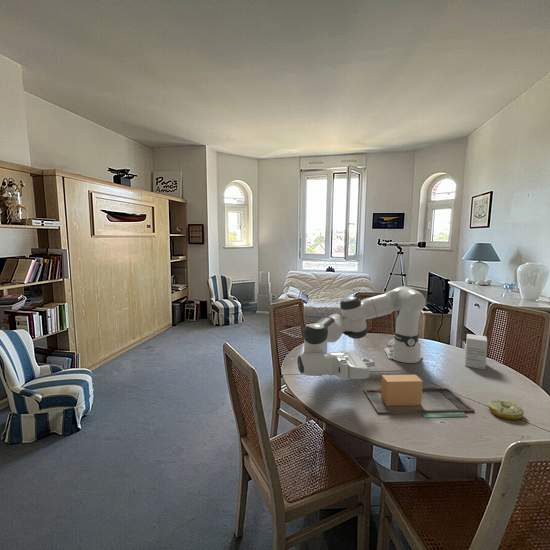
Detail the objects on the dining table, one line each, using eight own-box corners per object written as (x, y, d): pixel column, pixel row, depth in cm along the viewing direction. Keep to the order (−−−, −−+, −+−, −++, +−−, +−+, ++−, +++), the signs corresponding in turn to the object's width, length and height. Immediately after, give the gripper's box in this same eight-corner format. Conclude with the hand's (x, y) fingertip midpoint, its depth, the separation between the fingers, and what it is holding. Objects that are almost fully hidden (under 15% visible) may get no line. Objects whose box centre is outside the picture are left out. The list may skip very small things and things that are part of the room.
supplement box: (464, 360, 172) (466, 333, 170) (484, 363, 167) (486, 335, 165) (464, 366, 164) (466, 338, 162) (485, 369, 159) (487, 340, 158)
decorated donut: (482, 406, 126) (482, 397, 125) (510, 406, 125) (510, 397, 125) (499, 421, 116) (499, 411, 115) (529, 422, 115) (530, 412, 115)
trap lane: (361, 387, 141) (361, 386, 141) (444, 386, 142) (444, 384, 142) (380, 418, 117) (380, 416, 117) (479, 416, 118) (479, 414, 118)
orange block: (381, 398, 132) (381, 375, 131) (414, 397, 133) (415, 374, 131) (386, 405, 126) (387, 381, 125) (421, 405, 127) (422, 381, 125)
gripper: (333, 361, 137) (365, 360, 137) (344, 382, 117) (382, 381, 117) (333, 347, 136) (366, 346, 137) (345, 366, 116) (382, 365, 116)
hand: (373, 362), depth 127 cm, fingers closed
